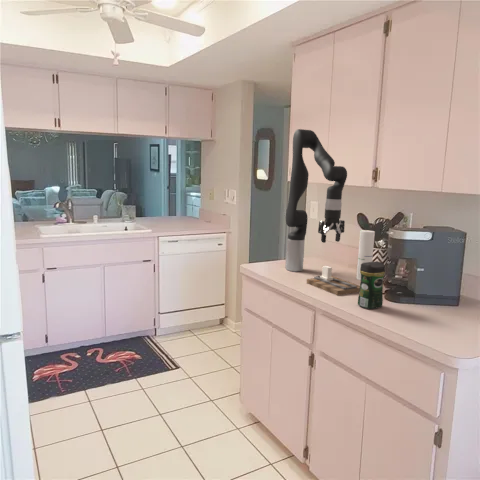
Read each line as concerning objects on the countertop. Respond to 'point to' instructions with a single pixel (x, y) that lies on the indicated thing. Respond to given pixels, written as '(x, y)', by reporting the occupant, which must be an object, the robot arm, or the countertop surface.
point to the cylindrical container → (365, 249)
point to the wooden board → (334, 285)
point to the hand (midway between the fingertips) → (330, 241)
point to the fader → (326, 273)
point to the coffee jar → (371, 285)
